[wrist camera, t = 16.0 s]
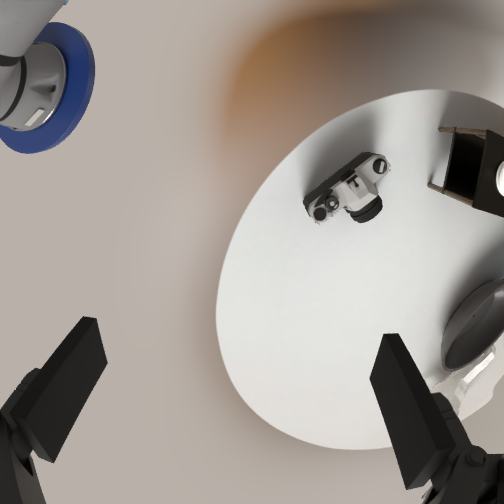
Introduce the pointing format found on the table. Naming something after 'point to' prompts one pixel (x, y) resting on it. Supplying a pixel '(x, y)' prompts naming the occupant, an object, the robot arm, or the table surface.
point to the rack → (474, 169)
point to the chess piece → (500, 178)
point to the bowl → (474, 326)
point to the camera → (350, 190)
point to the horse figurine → (463, 380)
